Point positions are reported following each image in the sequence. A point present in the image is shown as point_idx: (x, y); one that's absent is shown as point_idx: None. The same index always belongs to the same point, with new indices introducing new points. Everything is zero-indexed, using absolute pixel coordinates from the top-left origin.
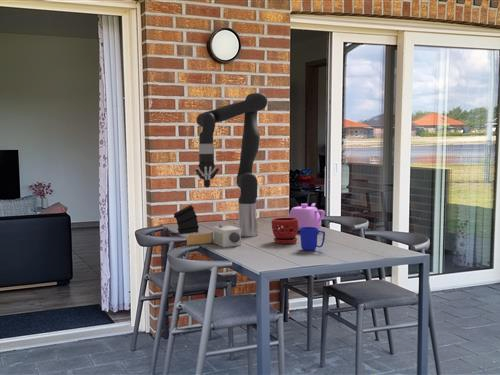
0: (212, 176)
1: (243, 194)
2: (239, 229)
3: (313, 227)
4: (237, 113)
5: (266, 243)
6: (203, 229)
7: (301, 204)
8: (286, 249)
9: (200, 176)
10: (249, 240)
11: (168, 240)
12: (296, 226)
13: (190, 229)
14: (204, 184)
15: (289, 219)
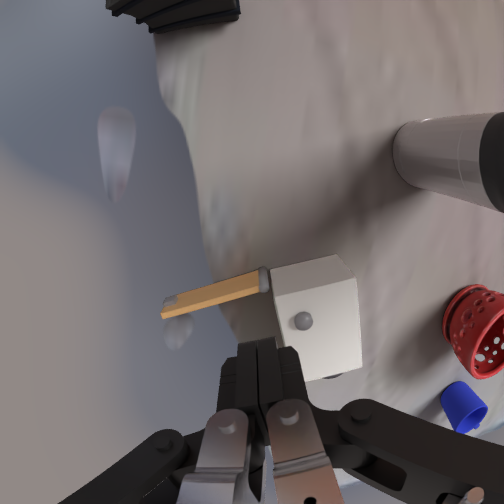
0: (362, 470)
1: None
2: (356, 367)
3: (486, 409)
4: None
5: (421, 317)
6: None
7: None
8: (420, 388)
9: (158, 498)
10: (399, 258)
11: (104, 185)
12: (497, 352)
13: (201, 19)
14: (228, 381)
15: None
